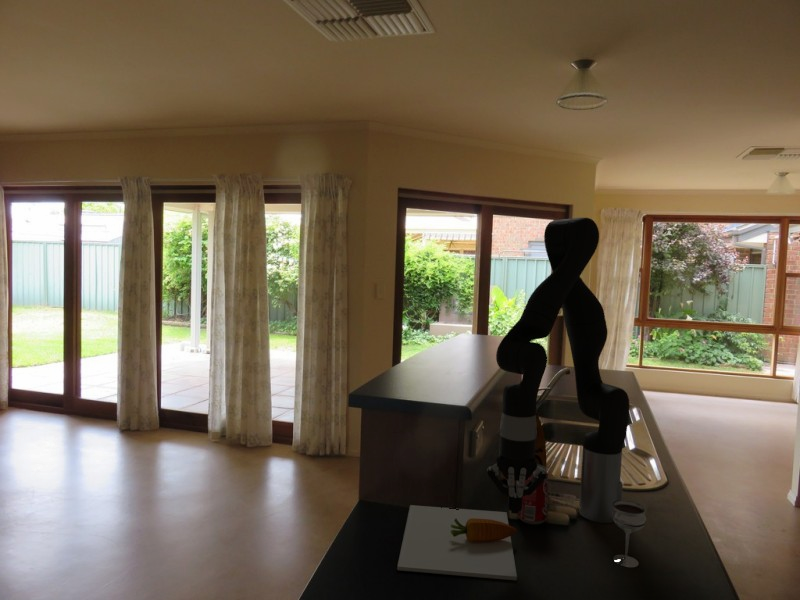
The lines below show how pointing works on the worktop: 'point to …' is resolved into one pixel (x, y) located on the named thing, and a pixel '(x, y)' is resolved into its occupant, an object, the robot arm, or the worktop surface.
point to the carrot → (483, 530)
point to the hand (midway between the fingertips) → (514, 511)
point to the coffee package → (538, 446)
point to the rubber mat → (453, 545)
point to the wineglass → (628, 525)
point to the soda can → (535, 502)
